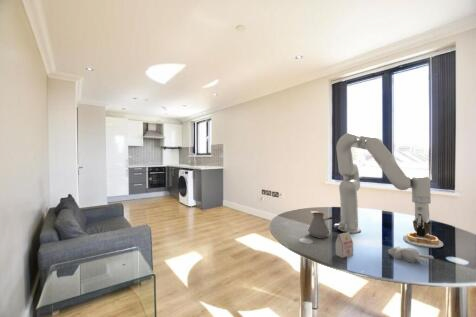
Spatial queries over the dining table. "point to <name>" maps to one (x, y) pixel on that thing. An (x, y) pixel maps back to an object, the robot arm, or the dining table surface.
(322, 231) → the coffee pot
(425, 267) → the dining table surface
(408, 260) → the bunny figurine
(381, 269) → the dining table surface
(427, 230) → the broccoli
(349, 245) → the milk carton
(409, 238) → the rosette plate
